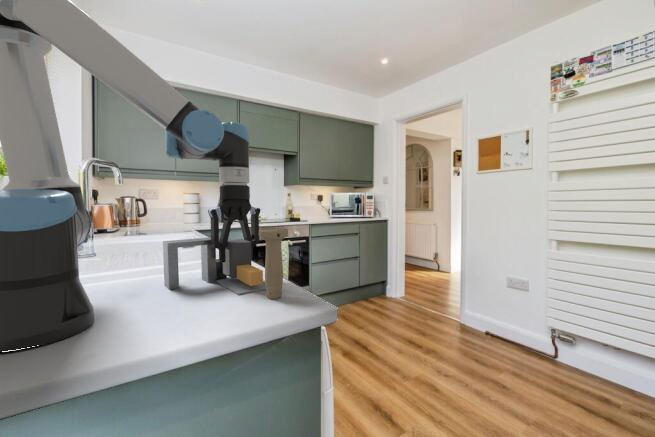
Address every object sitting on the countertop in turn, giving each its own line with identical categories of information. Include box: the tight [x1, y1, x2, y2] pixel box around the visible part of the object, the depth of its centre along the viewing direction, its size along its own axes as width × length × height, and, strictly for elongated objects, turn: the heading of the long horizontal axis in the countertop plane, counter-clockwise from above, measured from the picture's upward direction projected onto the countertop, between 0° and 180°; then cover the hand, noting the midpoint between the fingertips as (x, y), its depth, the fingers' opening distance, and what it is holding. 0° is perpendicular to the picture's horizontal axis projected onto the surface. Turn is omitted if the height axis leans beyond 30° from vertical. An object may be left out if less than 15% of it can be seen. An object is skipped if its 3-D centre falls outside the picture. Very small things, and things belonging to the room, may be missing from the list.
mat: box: [215, 277, 266, 296], centre depth 77 cm, size 9×14×1 cm, turn 40°
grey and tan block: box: [226, 238, 264, 286], centre depth 76 cm, size 15×5×9 cm, turn 40°
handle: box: [259, 228, 289, 300], centre depth 67 cm, size 5×6×15 cm
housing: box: [162, 237, 228, 291], centre depth 79 cm, size 14×5×11 cm, turn 130°
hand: (236, 272), depth 80 cm, fingers closed on grey and tan block, 5 cm apart
